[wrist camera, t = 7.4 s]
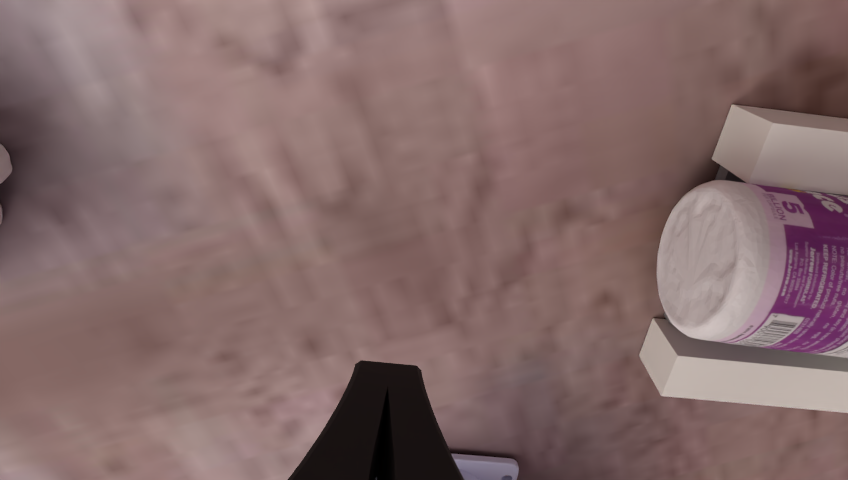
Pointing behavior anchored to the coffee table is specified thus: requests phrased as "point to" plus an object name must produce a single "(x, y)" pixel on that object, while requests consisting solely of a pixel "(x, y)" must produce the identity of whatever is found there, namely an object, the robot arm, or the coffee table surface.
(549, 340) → the coffee table surface
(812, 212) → the pill bottle
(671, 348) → the cradle
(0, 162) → the elephant figurine
